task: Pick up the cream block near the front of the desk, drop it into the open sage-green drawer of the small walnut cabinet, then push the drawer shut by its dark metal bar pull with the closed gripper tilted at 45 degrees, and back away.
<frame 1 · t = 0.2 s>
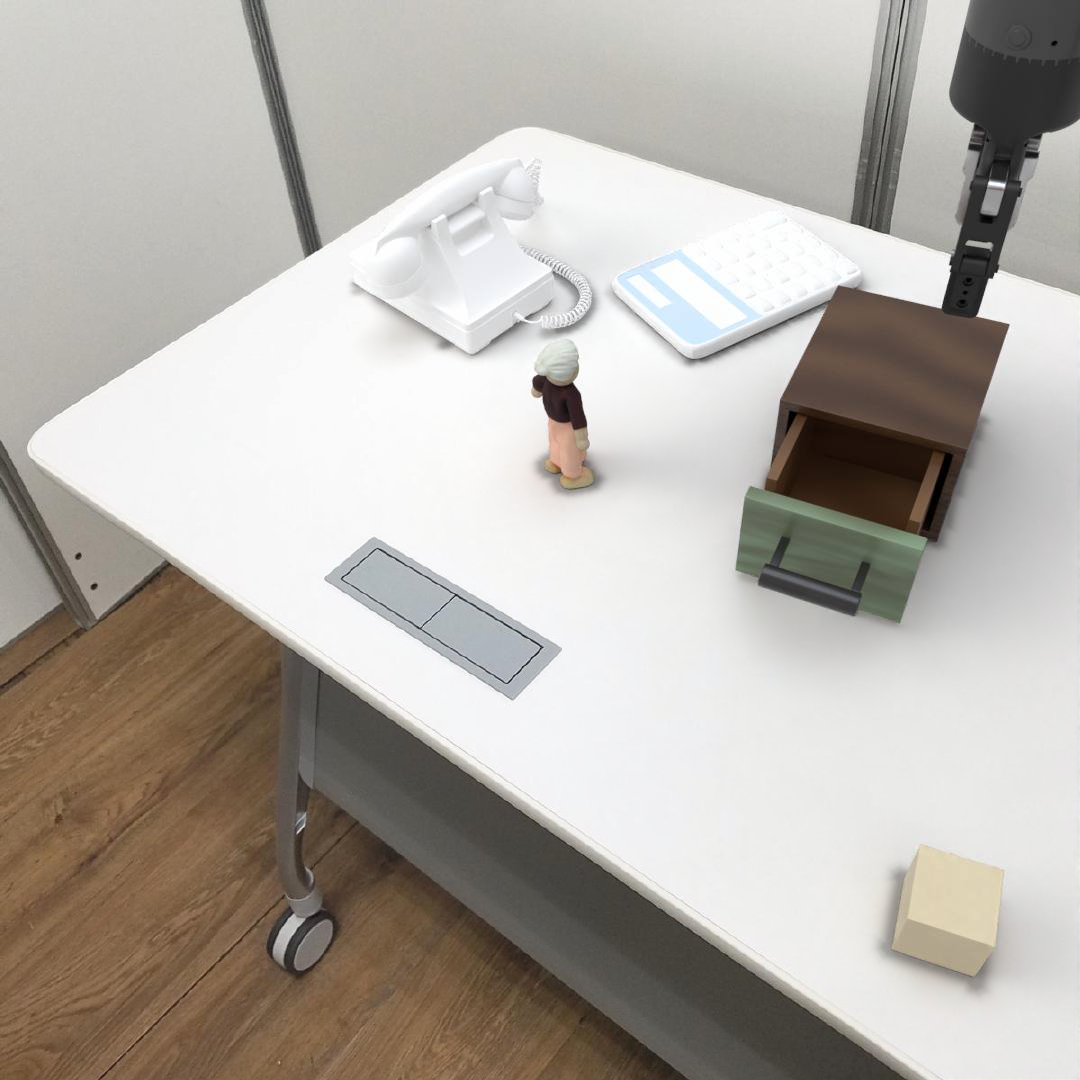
hand: (967, 274, 71), 19 cm above the table, tool pointing down, fingers open, 8 cm apart
drawer: (842, 515, 77), point 5 cm above the table, slide at 8.0 cm
telephone: (488, 288, 105), on the table
block: (938, 926, 63), on the table
cabinet: (874, 454, 87), on the table
calculator: (735, 290, 103), on the table
grandmother figurine: (565, 469, 88), on the table
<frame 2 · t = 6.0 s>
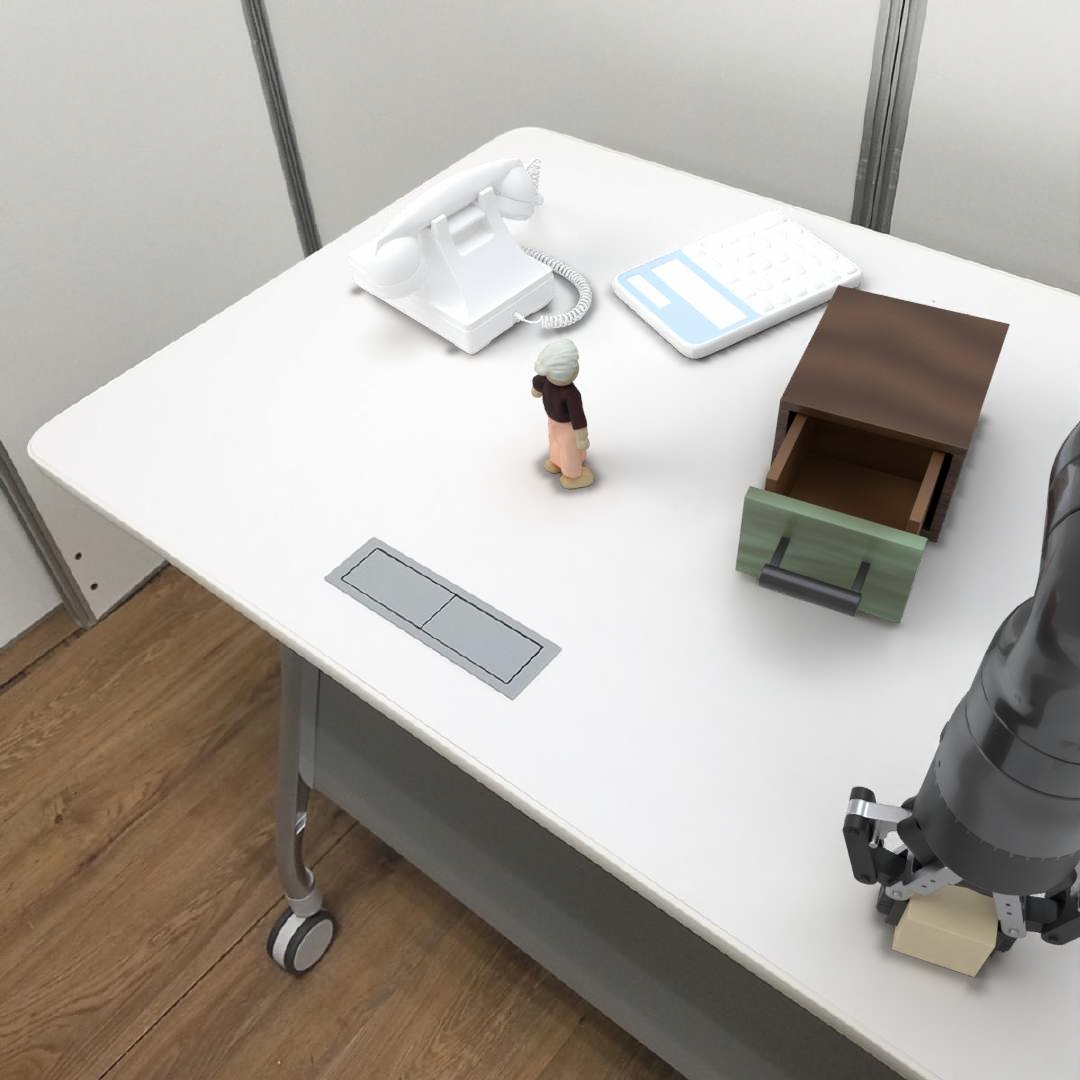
hand: (939, 924, 62), 0 cm above the table, tool pointing down, fingers closed on block, 4 cm apart
block: (938, 926, 63), on the table, touching gripper
everything else where it was.
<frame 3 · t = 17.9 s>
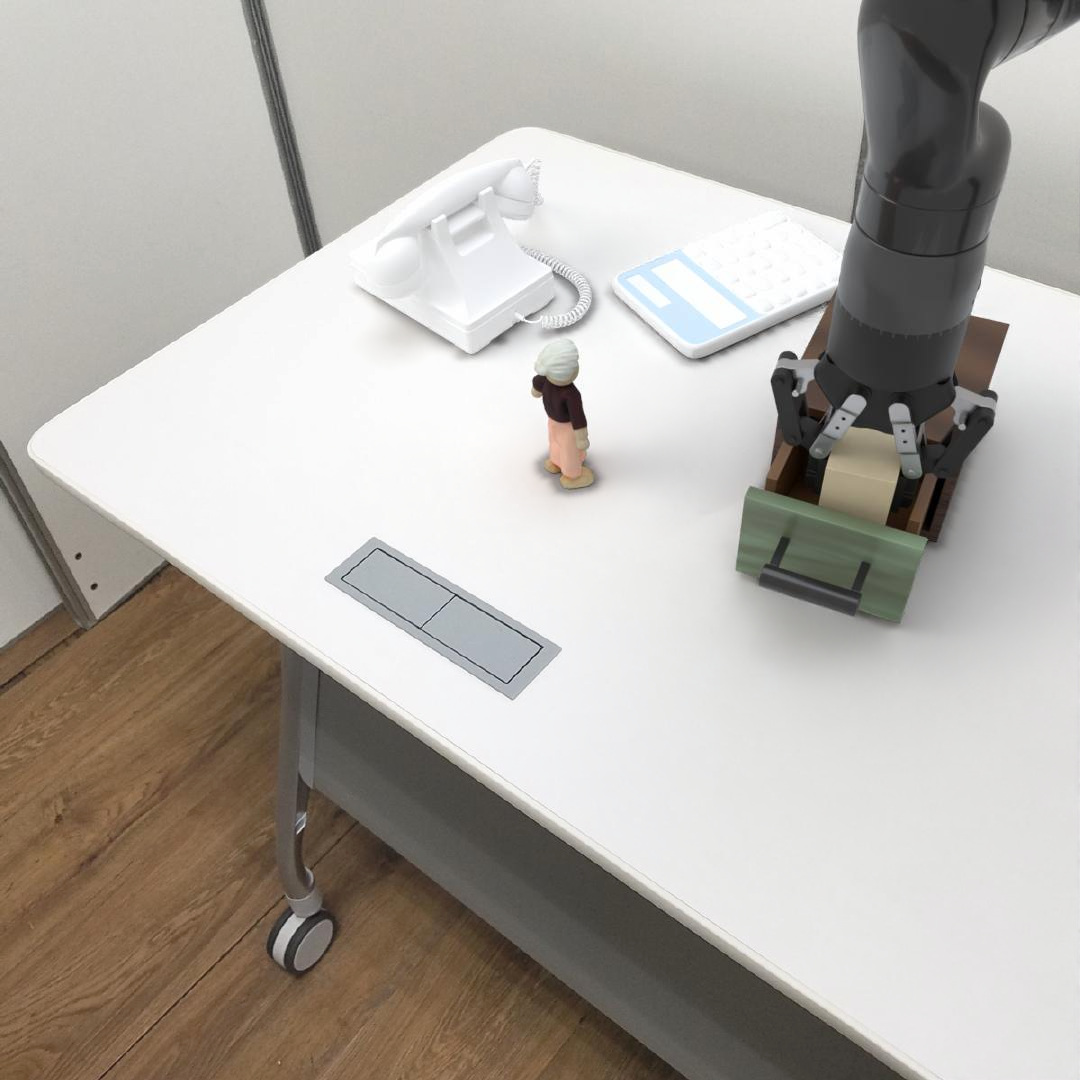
hand: (857, 495, 75), 7 cm above the table, tool pointing down, fingers closed on block, 4 cm apart
block: (856, 498, 75), point 7 cm above the table, touching gripper
everything else where it was.
when the fingers open (9 cm above the table, at t = 23.7 s): block drops 7 cm, resting on drawer.
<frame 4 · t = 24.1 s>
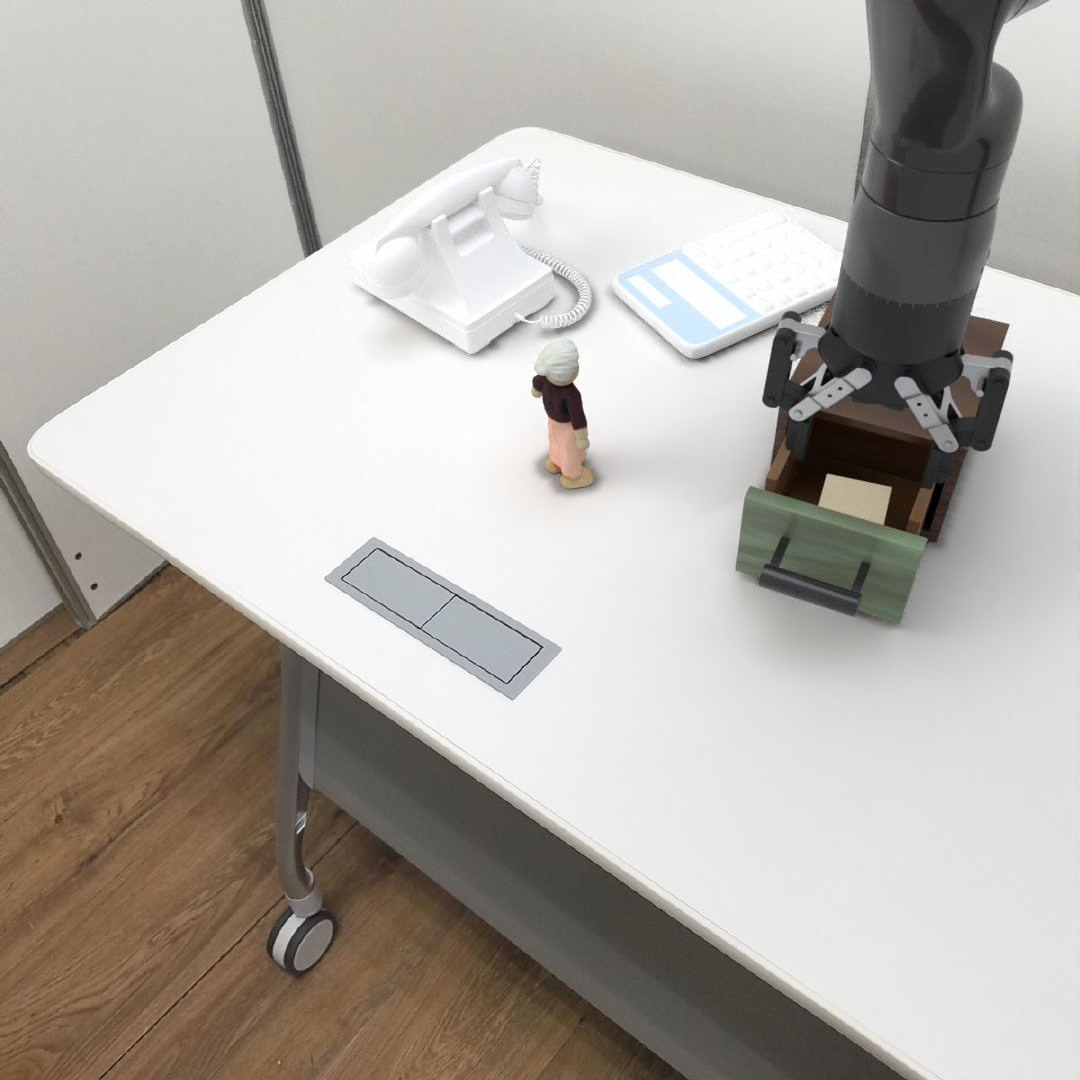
hand: (863, 466, 73), 10 cm above the table, tool pointing down, fingers open, 8 cm apart
drawer: (842, 515, 77), point 5 cm above the table, slide at 8.0 cm, touching block
block: (843, 545, 79), point 2 cm above the table, touching drawer
everything else where it was.
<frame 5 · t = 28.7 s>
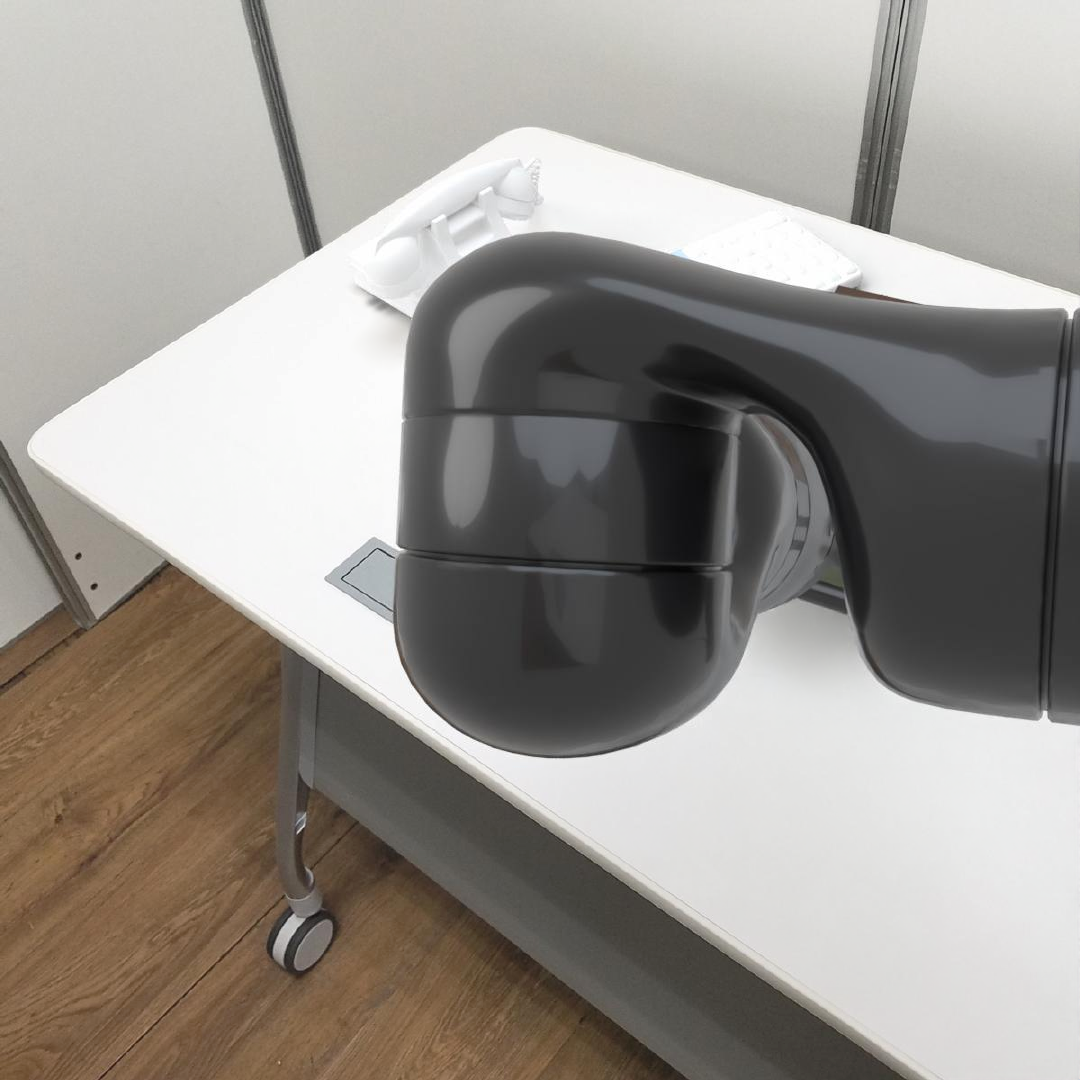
hand: (793, 517, 54), 22 cm above the table, tool tilted 45°, fingers closed
nothing on the table moved.
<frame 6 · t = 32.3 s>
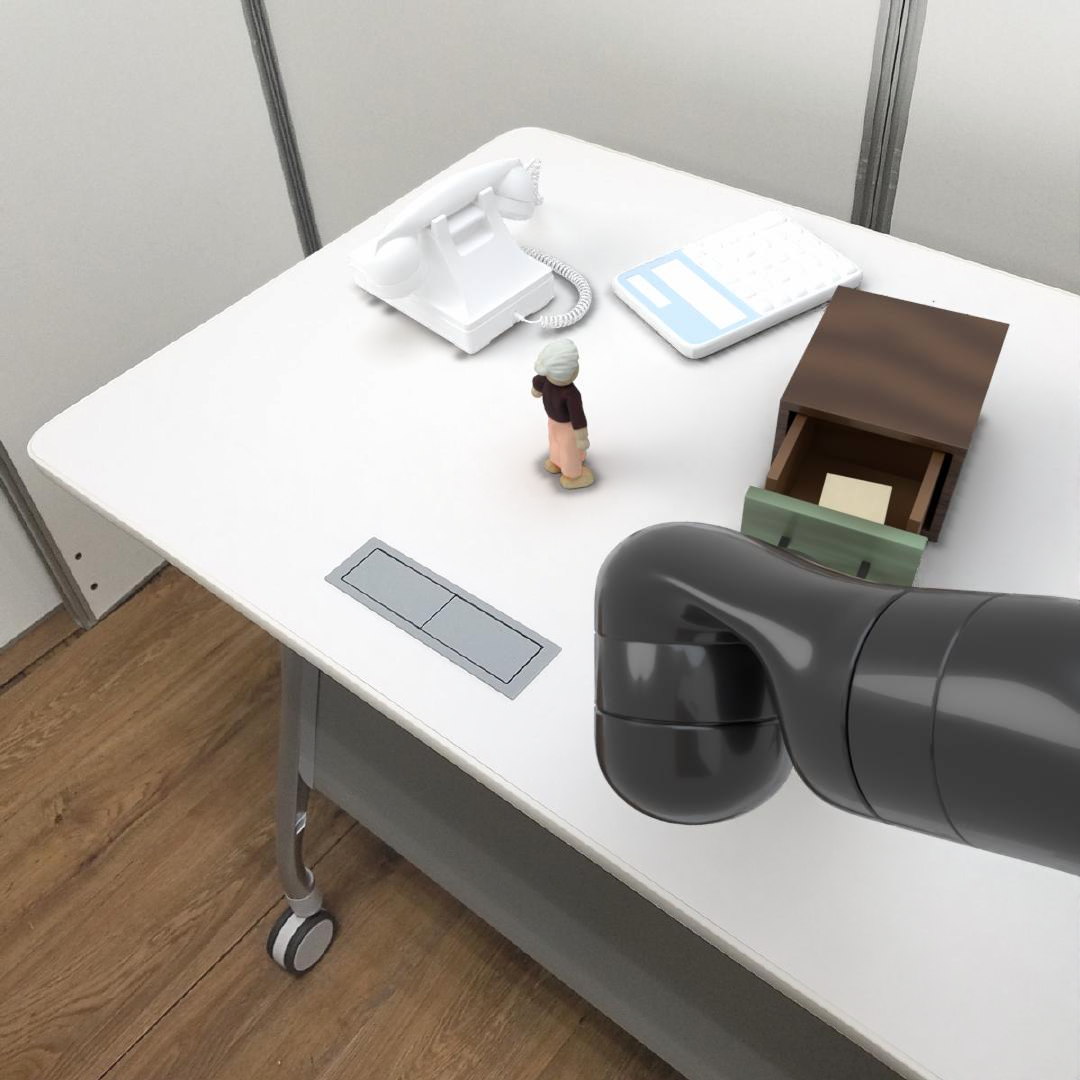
hand: (805, 598, 71), 6 cm above the table, tool tilted 45°, fingers closed
drawer: (842, 514, 77), point 5 cm above the table, slide at 7.9 cm, touching block, gripper
everything else where it was.
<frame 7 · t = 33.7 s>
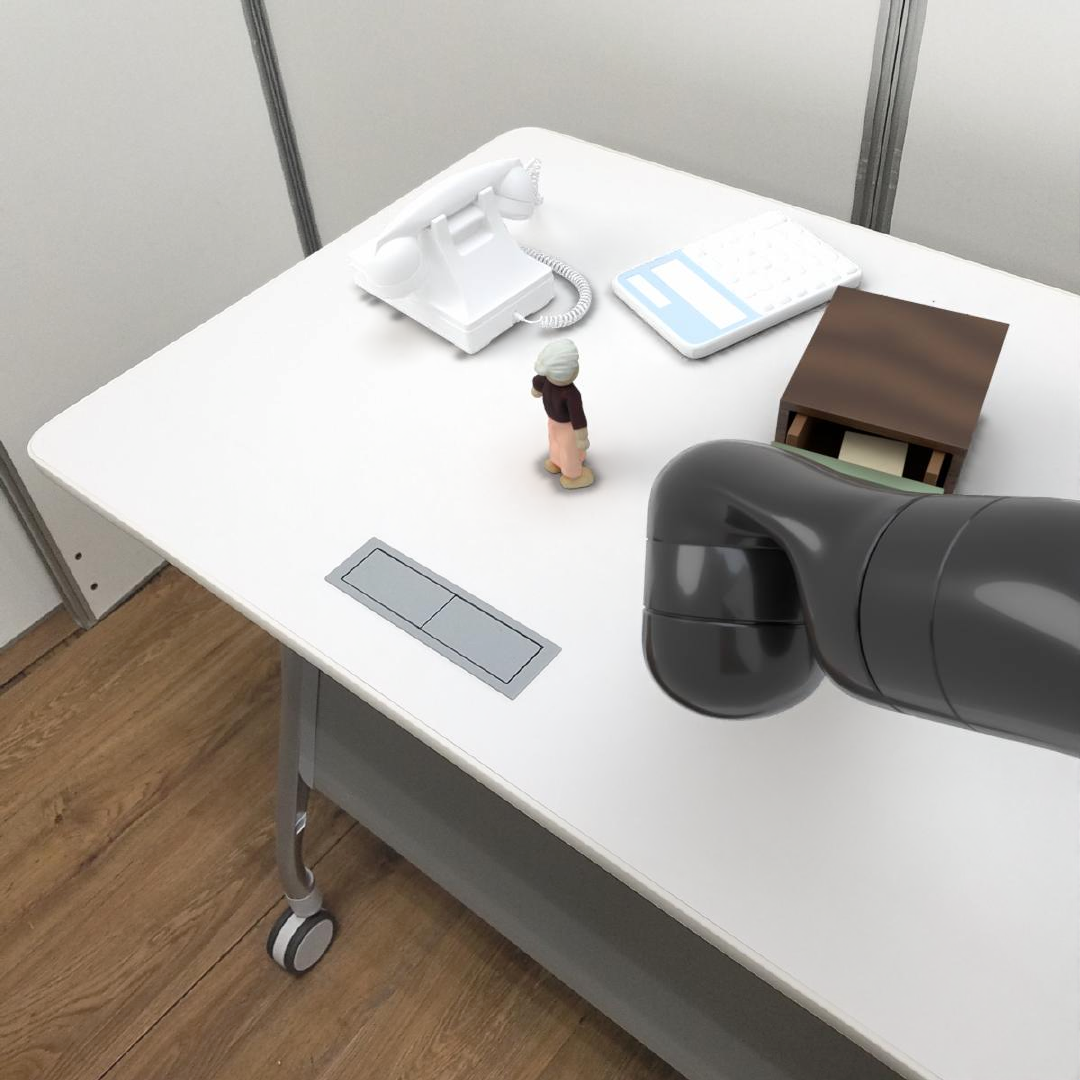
hand: (826, 547, 74), 6 cm above the table, tool tilted 45°, fingers closed
drawer: (860, 471, 80), point 5 cm above the table, slide at 3.3 cm, touching block, gripper
block: (861, 500, 81), point 2 cm above the table, touching drawer
everything else where it was.
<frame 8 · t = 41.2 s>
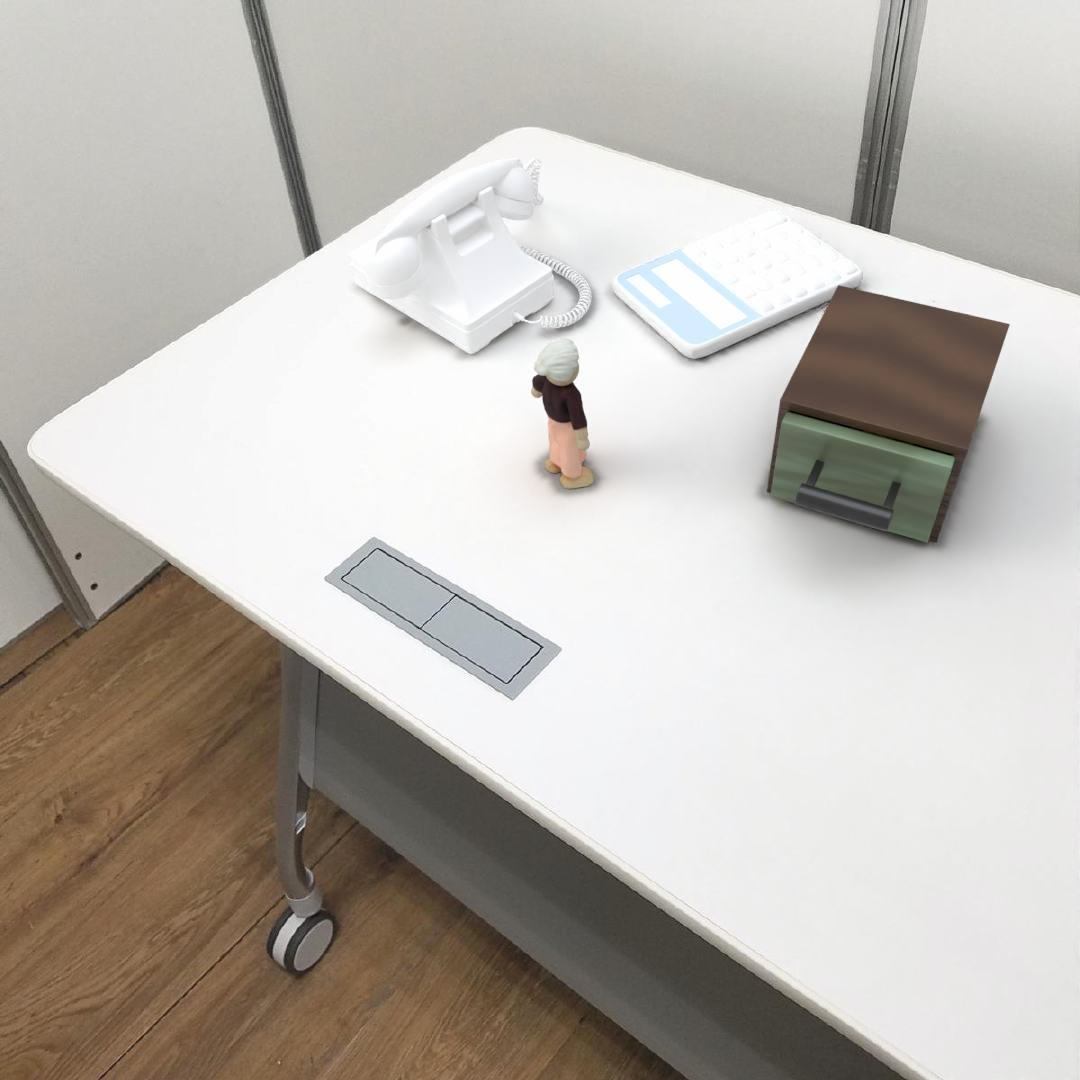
drawer: (872, 442, 82), point 5 cm above the table, slide at 0.0 cm, touching block
block: (873, 471, 83), point 2 cm above the table, touching drawer
everything else where it was.
at the end: block inside the target area in the cabinet (4.1 cm from its centre), point 2.0 cm above the cabinet's base; drawer slide at 0.0 cm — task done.
